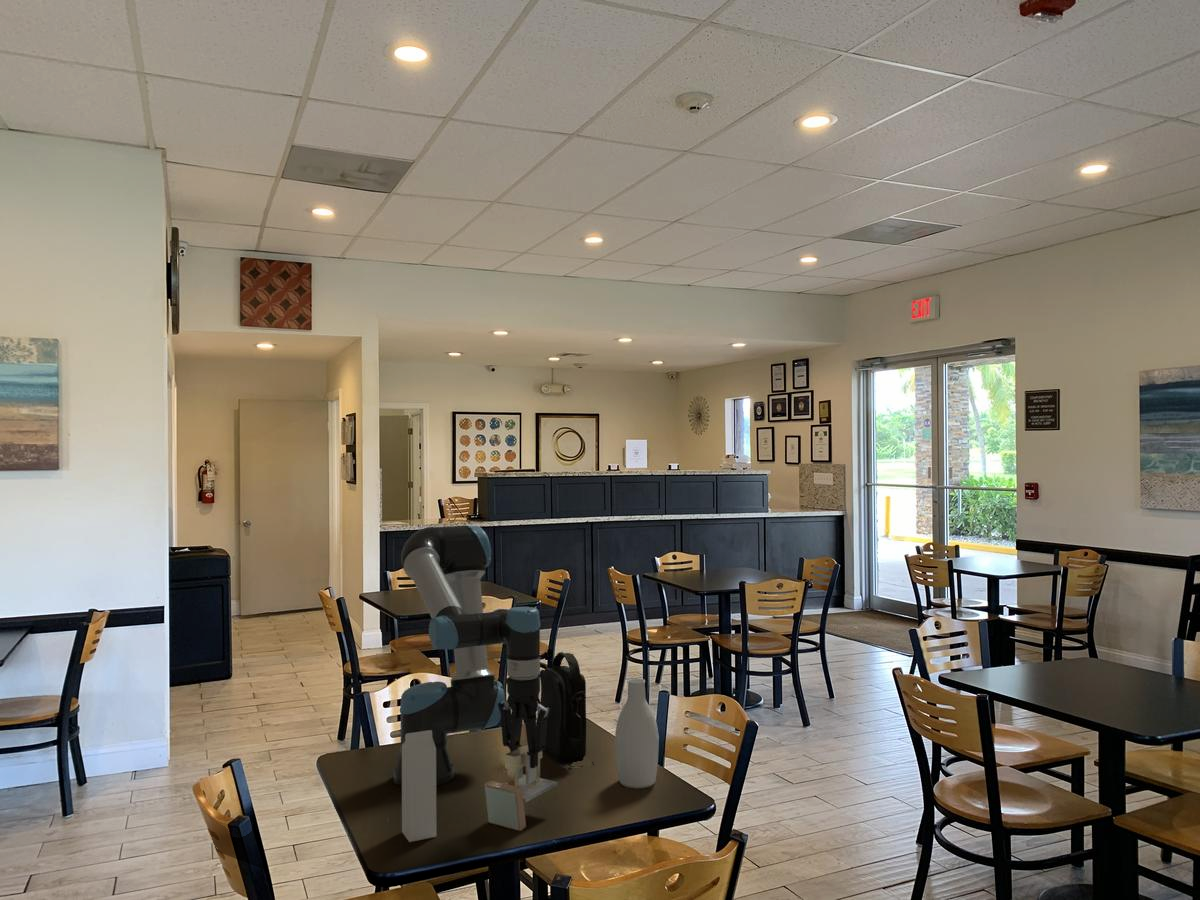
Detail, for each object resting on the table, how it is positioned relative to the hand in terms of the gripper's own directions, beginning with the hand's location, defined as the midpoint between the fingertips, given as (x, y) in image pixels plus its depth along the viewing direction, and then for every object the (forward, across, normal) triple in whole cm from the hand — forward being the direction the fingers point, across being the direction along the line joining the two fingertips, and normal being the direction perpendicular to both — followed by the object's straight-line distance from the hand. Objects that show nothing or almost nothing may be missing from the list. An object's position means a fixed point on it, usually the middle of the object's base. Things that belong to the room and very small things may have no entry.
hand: (524, 779), depth 198 cm
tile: (+8, 0, -6) cm, 10 cm away
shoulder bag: (+8, -17, +40) cm, 44 cm away
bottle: (+8, +11, +32) cm, 35 cm away
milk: (+8, -13, -20) cm, 25 cm away
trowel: (+2, 0, 0) cm, 2 cm away
